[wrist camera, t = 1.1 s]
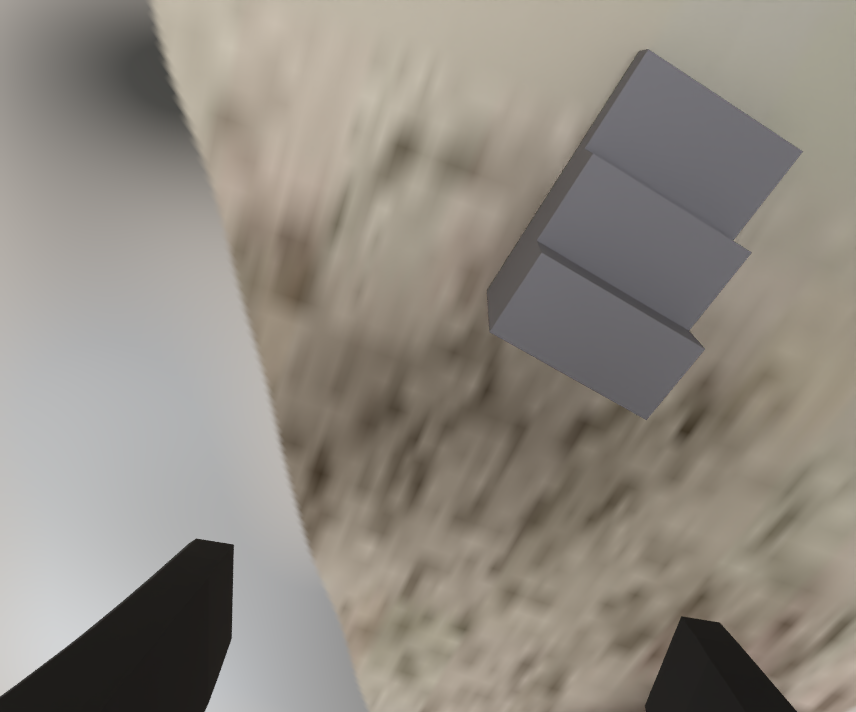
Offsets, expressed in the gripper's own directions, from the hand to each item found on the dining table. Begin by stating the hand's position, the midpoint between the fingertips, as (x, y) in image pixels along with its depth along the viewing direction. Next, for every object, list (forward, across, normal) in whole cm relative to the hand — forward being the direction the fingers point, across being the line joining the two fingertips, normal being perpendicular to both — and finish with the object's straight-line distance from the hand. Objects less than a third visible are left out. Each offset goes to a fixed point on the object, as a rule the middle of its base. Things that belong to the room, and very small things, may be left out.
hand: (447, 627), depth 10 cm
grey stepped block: (+10, -4, -5) cm, 12 cm away
